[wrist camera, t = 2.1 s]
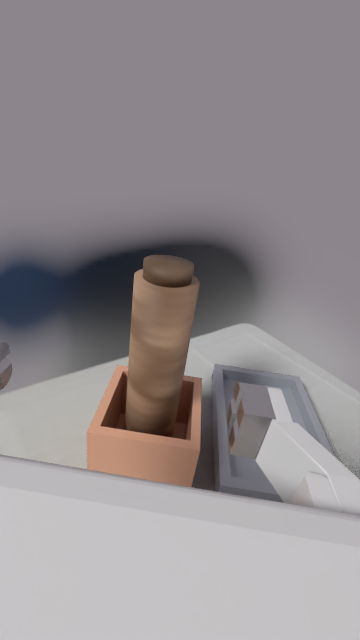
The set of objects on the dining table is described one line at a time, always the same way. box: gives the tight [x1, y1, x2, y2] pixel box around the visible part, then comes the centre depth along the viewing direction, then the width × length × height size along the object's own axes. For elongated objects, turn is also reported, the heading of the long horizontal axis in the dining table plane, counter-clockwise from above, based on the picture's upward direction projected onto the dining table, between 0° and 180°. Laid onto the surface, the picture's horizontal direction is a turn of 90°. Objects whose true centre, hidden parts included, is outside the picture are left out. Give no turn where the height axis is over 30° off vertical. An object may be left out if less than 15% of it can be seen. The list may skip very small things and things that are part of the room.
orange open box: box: [87, 365, 202, 487], centre depth 29 cm, size 9×9×7 cm
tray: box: [212, 364, 336, 503], centre depth 34 cm, size 12×18×2 cm, turn 175°
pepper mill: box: [124, 255, 200, 438], centre depth 25 cm, size 5×5×19 cm
